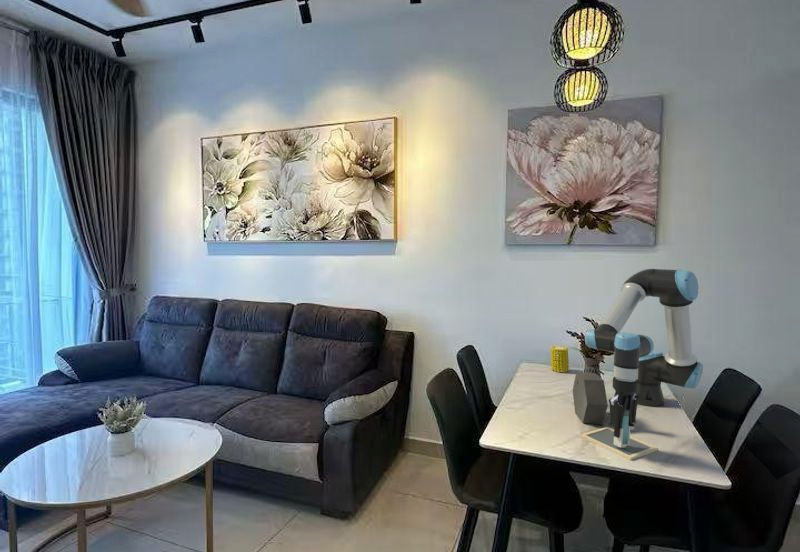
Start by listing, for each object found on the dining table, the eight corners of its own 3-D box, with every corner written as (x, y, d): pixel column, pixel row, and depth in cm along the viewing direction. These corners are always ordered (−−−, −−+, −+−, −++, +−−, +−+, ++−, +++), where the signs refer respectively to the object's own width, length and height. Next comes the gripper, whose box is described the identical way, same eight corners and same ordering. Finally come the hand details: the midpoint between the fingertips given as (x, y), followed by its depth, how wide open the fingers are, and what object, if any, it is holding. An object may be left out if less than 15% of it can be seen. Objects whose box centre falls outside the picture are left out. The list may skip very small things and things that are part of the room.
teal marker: (620, 442, 149) (621, 407, 149) (629, 447, 146) (631, 410, 146) (613, 444, 148) (615, 408, 147) (623, 449, 145) (625, 412, 144)
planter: (610, 420, 160) (601, 366, 171) (588, 418, 161) (581, 365, 171) (596, 428, 175) (589, 378, 185) (576, 426, 176) (570, 377, 186)
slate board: (607, 428, 164) (607, 426, 164) (657, 450, 147) (658, 447, 147) (580, 436, 156) (580, 434, 156) (630, 460, 139) (630, 457, 139)
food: (571, 375, 239) (555, 376, 237) (559, 364, 250) (544, 366, 247) (575, 350, 234) (559, 352, 232) (563, 341, 245) (547, 342, 243)
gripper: (629, 372, 153) (625, 435, 154) (599, 378, 145) (596, 444, 146) (650, 378, 146) (646, 444, 148) (620, 384, 138) (616, 454, 140)
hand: (621, 444), depth 147 cm, fingers closed on teal marker, 3 cm apart
